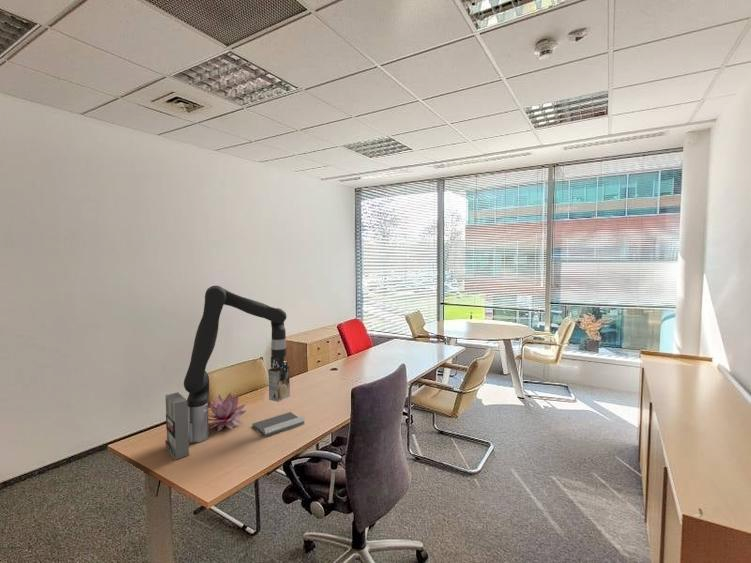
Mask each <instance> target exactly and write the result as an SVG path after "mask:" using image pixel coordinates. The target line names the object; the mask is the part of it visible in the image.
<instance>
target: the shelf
mask: <svg viewBox="0 0 751 563" xmlns="http://www.w3.org/2000/svg"><path fill="white" fill-rule="evenodd" d="M304 424H305V416H304V415H301V416H297V415H296V414H295V413H293V412H292V411H289V412H286V413H283V414H279V415H276V416H273V417H270V418H266V419H263V420H261V421H256V422H253V423H252V428H254V430H256V431H257V430H258V431H257V432H259V433H260V435H262V436H263V435H264V436H263V437H264V438H266V436H267V437H269V436H272V435H274V434H278V433H281V432H284V431H287V430H290V429H293V428H297V427H299V426H302V425H304Z"/></svg>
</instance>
